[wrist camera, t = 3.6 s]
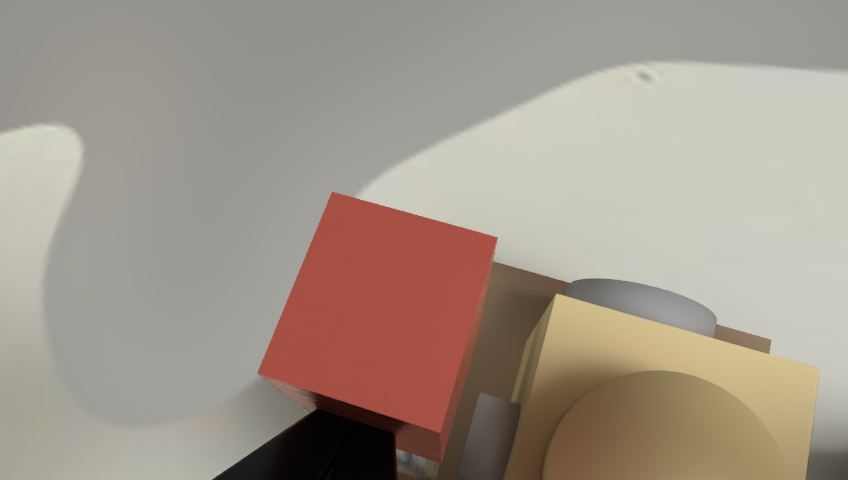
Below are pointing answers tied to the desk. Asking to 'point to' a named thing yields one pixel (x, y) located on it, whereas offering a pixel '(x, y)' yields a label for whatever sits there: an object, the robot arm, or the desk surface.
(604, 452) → the ball valve manifold
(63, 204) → the desk surface
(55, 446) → the desk surface
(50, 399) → the desk surface
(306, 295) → the lever
